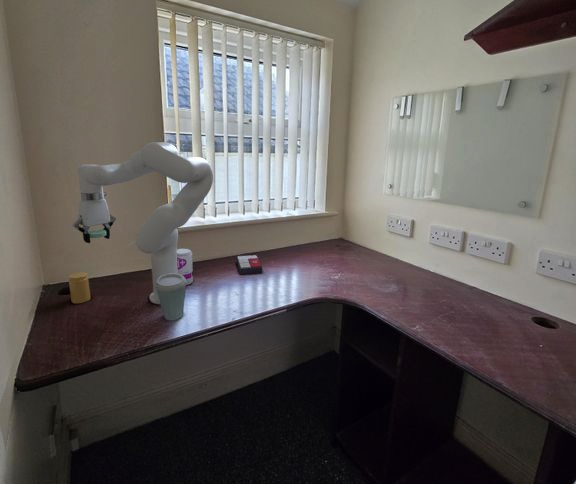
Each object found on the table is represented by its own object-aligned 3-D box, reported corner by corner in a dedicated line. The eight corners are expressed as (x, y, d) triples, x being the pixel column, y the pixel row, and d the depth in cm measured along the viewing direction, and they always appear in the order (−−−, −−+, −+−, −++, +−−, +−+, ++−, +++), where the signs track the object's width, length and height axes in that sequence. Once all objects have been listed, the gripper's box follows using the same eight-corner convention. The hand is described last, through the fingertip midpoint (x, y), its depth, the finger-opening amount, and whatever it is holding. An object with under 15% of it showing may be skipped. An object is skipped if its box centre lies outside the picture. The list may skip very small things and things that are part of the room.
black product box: (240, 267, 153) (236, 255, 166) (240, 275, 154) (236, 262, 168) (262, 266, 156) (257, 254, 169) (262, 273, 157) (256, 261, 171)
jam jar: (92, 299, 124) (89, 275, 122) (73, 305, 120) (70, 279, 117) (87, 294, 129) (84, 270, 126) (69, 299, 124) (65, 274, 121)
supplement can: (187, 287, 138) (186, 255, 134) (170, 285, 140) (168, 252, 136) (196, 279, 146) (195, 249, 142) (179, 277, 147) (178, 247, 143)
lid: (84, 235, 127) (84, 231, 127) (103, 232, 132) (102, 228, 132) (89, 239, 123) (89, 235, 122) (109, 235, 128) (108, 231, 127)
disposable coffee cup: (192, 318, 114) (190, 280, 110) (161, 327, 108) (158, 287, 104) (183, 306, 123) (181, 269, 119) (153, 313, 117) (150, 275, 113)
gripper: (109, 193, 132) (113, 234, 137) (62, 198, 118) (69, 243, 123) (119, 195, 128) (123, 237, 133) (72, 200, 114) (78, 247, 119)
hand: (97, 239), depth 128 cm, fingers closed on lid, 6 cm apart
